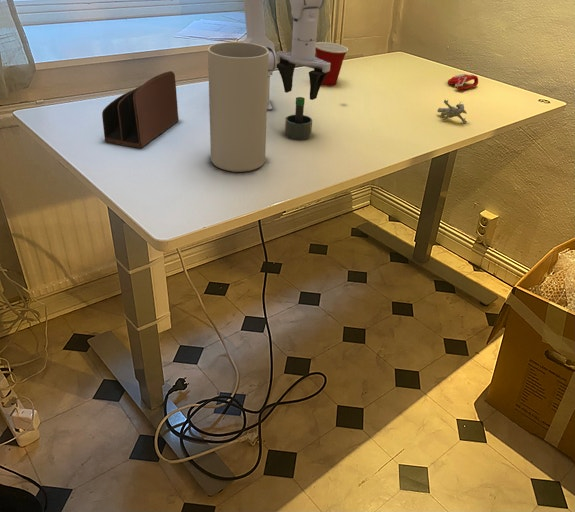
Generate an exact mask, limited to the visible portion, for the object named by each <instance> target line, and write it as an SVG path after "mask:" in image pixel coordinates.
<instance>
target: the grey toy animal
mask: <svg viewBox="0 0 575 512" xmlns="http://www.w3.org/2000/svg"><path fill="white" fill-rule="evenodd" d="M443 103H444V104H445V105H446V106H447V108H446V107H439V108H438V109H437V113H440V116H441V117H443V116H444V118H443V119H442V120H441V121H445V120H447V119H448V118H449V119H453V118H455V117H457V118H459V119H460V120H461V122H462V123H463V124H467V120H466V117H465V118H463V117H462V114H465V115H467V113H468V112H467V110H465V104H464V103H462V101H460V102H459V103H457V104H456V105H455V106H452V105H450V104H449V99H444V101H443Z"/></svg>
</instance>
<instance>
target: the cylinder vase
mask: <svg viewBox="0 0 575 512" xmlns="http://www.w3.org/2000/svg"><path fill="white" fill-rule="evenodd" d="M268 60H269V50H268V49H267V48H265V47H263V46H261V45H257V44H252V43H244V42H243V41H228V42H227V41H225V42H218V43H214V44H211V45H210V46H208V48H207V68H208V69H207V71H208V98H209V99H208V103H209V104H208V107H209V108H208V109H209V139H210V140H209V141H210V142H209V143H210V145H209V146H210V161H211V163H212V164H213V165H214V166H215V167H216V168H218V169H220V170H222V171H223V170H224V171H228V172H233V173H234V172H235V173H243V172H251V171H254V170H256V169H259V168H261V167H262V166H263V165H264V163H265V162H266V149H267V147H266V146H267V120H268V119H267V118H268V117H267V115H268V110H267V90H268Z"/></svg>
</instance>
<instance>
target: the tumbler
mask: <svg viewBox="0 0 575 512" xmlns="http://www.w3.org/2000/svg"><path fill="white" fill-rule="evenodd" d="M284 121H285V122H284V136H285V137H286V138H288V139H290V140H295V141H304V140H308V139H311V137H312V131H313V119H312V117H310V116H308V115H306V114H305V115H304V114H303V124H296V123H295V114H290V115H287V116H286V117H285V119H284Z"/></svg>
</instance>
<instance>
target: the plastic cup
mask: <svg viewBox="0 0 575 512" xmlns="http://www.w3.org/2000/svg"><path fill="white" fill-rule="evenodd" d="M348 52H349V48H348V47H347V46H344V45H342V44H340V43H335V42H328V41H318V42H316V50H315V57H316V58H319V59H321V60H323V61H326V62H329V63H331V65H330V71H329V72H328V74H327V75H326V77H325V78H324V80H323V82H322V84H321V86H323V87H334V86H336V85H337V83H338V79H339V75H340V72H341V70H342V66H343V62H344V59H345V56H346V54H347V53H348Z"/></svg>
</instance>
